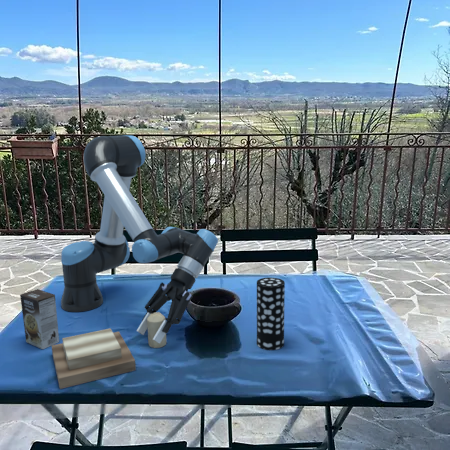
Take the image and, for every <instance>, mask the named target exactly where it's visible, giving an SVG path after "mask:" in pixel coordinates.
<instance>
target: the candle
mask: <svg viewBox="0 0 450 450" xmlns="http://www.w3.org/2000/svg"><path fill="white" fill-rule="evenodd" d="M165 318H166V317H165V315H164V314H162V313H161V312H159V311H157V312H155V313H153V314H151V315H150V316H149V317H148V318H147V326H148V328H147V338H148V339H147V340H148V346H149V347H150V348H153V349H159V348H163V347H165V346H166V345H167V334H165V336H164V337H163V339H162V341H161V342H160V344H159V343H158V342H156V341H155V340H153V338H154V336H155V334H156V333H157V331H158V329H159V328H160V326H161V324H162V323H163V321H164V320H165Z"/></svg>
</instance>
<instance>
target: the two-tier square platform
mask: <svg viewBox="0 0 450 450" xmlns="http://www.w3.org/2000/svg"><path fill="white" fill-rule="evenodd" d="M51 355H52V359H53V364H54V368H55V372H56V379H57V382H58V387H59V390H62V389H65V388H69V387H74V386H78V385H82V384H87V383H89V382H94V381H97V380H102V379H106V378H110V377H113V376H118V375H121V374H126V373H130V372H135V371H136V370H137V369H136V368H137V367H136V366H137V365H136V359H135V357H134V356H133V354H132V351H131V350H130V348H129V347H128V345H127V343H126V341H125V340H124V338H123V336H122V334H121V332H120V331H115V332H113V330H112V328H106V329H105V328H104V329H100V330H97V331H96V330H95V331H90V332H85V333H81V334H76V335H72V336H71V335H70V336H67V337H62V343H61V342H60V343H56V344H54V345H52V346H51Z"/></svg>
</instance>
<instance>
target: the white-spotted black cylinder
mask: <svg viewBox="0 0 450 450" xmlns="http://www.w3.org/2000/svg"><path fill="white" fill-rule="evenodd" d="M285 285H286V283H285V281H284V280H283V279H281V278H278V277H272V276H271V277H262V278H258V279H257V281H256V345H257V347H259V348H260V349H262V350H266V351H276V350H280V349H282V348H283V347H284V344H285V297H286V296H285V293H286V291H285V288H286V286H285Z"/></svg>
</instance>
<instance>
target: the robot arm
mask: <svg viewBox="0 0 450 450" xmlns="http://www.w3.org/2000/svg"><path fill="white" fill-rule="evenodd" d="M145 161H146V150H145V146H144V145H143V143H142V141H141V140H140V139H139V138H138V137H136V136H134V135H127V134H123V135H108V136H107V135H101V136H100V135H99V136H96V137H95V138H92V139H91V140H90V141H89V142H88V143H87V144H86V146H85V148H84V151H83V165H84V169H85V171H86V173H87V175H88V176H89V178H90V180H91V181H92V182H96V184H97V185H98V188H100V190H101V192H102V193H103V194H104V197H103V198H104V199H103V205H102V206H103V207H102V214H101V221H100V227H99V231H98V232H96V234H95V238H94V242H92V241H90V240H83V241H76V242H73V243H70V244H67V245H66V246H64V247H63V249H62V250H61V260H60V262H61V266H62V274H63V277H62V278H63V285H64V287H63V292H62V297H61V300H60V305H61V309H62V310H64V311H66V312H72V313H73V312H74V313H79V312H86V311H90V310H94V309H97V308H99V307H100V306H101V305H102V304H103V303H104V299H103V294H102V292H101V289H100V287H99V286H98V281H97V274H100V273H103V272H105V271H109V270H111V269H117V268H119V267H121V266H122V265H124V264H126V262H128V260H129V258H130V253H131V252H132V257H133V259H134V260H135V261H136V262H137V263H139V264H147V263H152V262H155V261H157V260H160V259H162V258H165V257H169V256H172V255H174V254H175V255H176V254H177V253H180V254H183V256H182V258H181V259H179V260H180V261H179V262H178V264H177V265H176V266H177V267H176V268H175V269H174V271H173V272H172V273H171V275H170V281H169V282H168V283H164V282H160V284H159V286H158V288H157V290H155V292H154V294H153V295H152V296H151V297H150V299H149V300H148V301H147V303H145V305H144V309H145V311H146V313H145V315H144V316H143V318H142V320H141V323H140V324H139V326H138V328H137V329H136V332H138V333H139V334H141V335H142V336H144V335H145V333H146V332H147V331H148V326H147V318H148V317H149V316H150V315H151V314H153V313H155V312H159V310H160V309H161V308H162V307H164V305H166V303H167V302H170V301H171V303H170V307H169V310H168V314H167V317H165V320H164V321H163V323H162V324H161V326H160V328H159V329H158V331H157V333H156V334H155V336H154V338H153V340H155V341H156V342H158V343H159V344H160V342H161V341H162V339H163V337H164V336H165V334H166V335H167V334H168V333H169V331H170V329H171V328H172V326H173V325H179V324H181V321H182V318H183V316H184V314H185V312H186V310H187V308H188V305H189V303H190V301H192V299H193V295H192V294H191V293H190V292H189V290H191V289H192V287H193V286H194V284H195V283H196V279H197V278H198V277H199V275H200V274H201V272H202V271H203V269H204V267H205V265H206V263H207V262H208V260H209V259H210V257H211V256H212V254H213V253H214V251H215V248H216V246H217V245H218V242H219V239H218V237H217V236H216V234H214V232H211V231H210V230H208V229H206V228H201V229H199V230H198V231H197V232H196V233H192V232H190V231H186V230H184V229H181V228H179V227H174V226H167V227H166V228H165V229H164V230H163V231H162V232H161V233H160V234H157V233H156V231H155V229H154V228H153V227H152V225H151V223H150V221H149V220H148V218H147V217H146V215H145V213H144V212H143V210H142V209H141V208H140V206H139V204H138V202H137V201H136V200H135V198H134V196H133V195H132V193H131V191H130V188H131V181H132V178H134V177H136V176H137V171H138V168H139V167H141V166H143V165H144V163H145ZM124 229H125V231H126V232H127V234H128V235H129V237H130V238H131V239H132V241H133V244H132V246H131V249H130V247H129V246H130V244H129V241H128V240H127V238H126V236H125V235H124Z"/></svg>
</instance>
